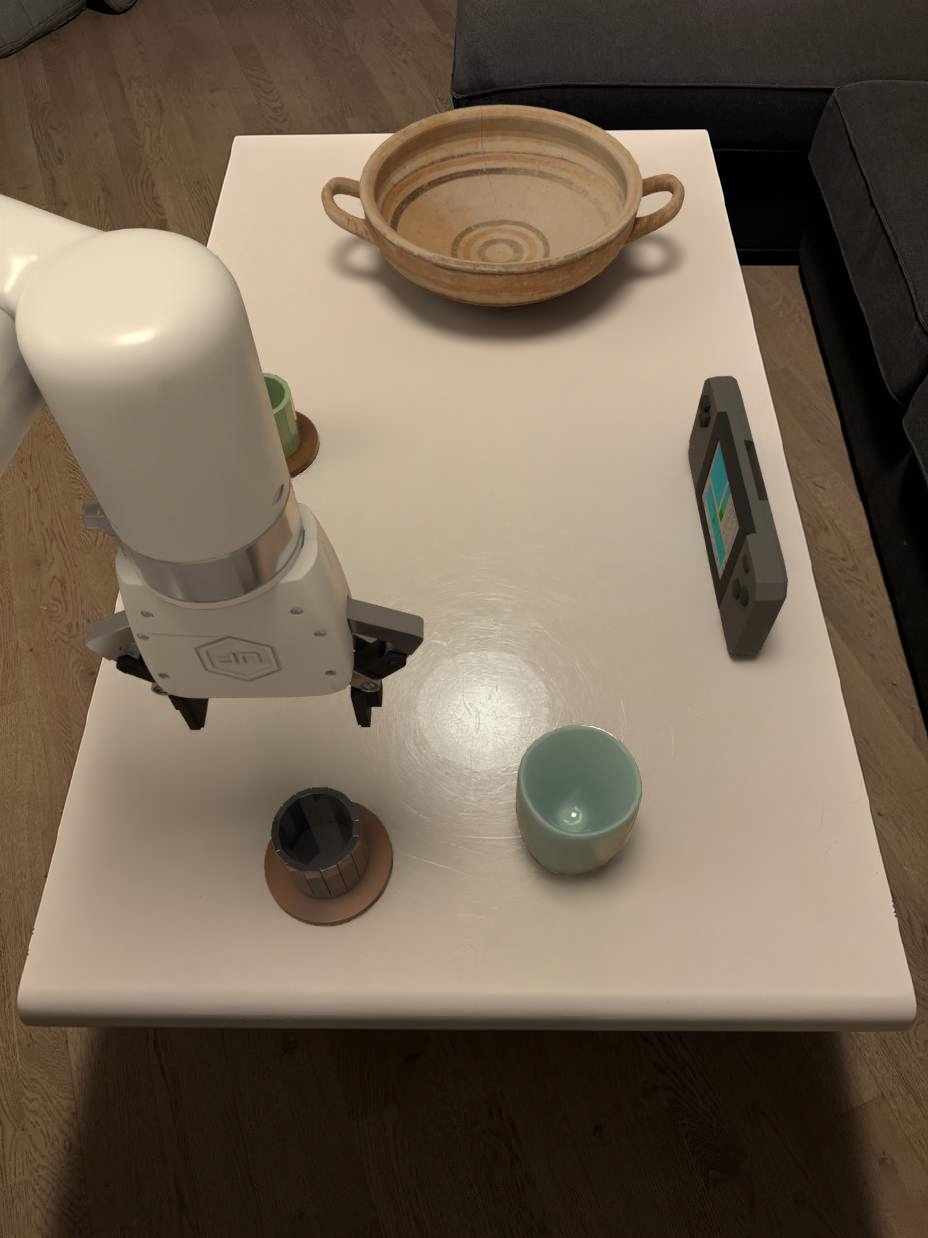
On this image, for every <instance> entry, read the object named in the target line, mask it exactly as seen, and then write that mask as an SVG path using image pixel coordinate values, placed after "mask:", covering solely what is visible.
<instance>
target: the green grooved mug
mask: <svg viewBox="0 0 928 1238" xmlns="http://www.w3.org/2000/svg"><path fill="white" fill-rule="evenodd" d="M263 376H264V380H265V383H266V387H267V391H268V395H269V399H270V402H271V406H272V410H273V414H274V417H275V421H276V425H277V429H278V433H279V437H280V441H281V445H282V448H283V452H284V456H285V459H287V458H289V457H290V456H291V455H293V454H294V453H295V452H296V450H297V449H298V447H299V445H300V441H301V436H300V429H299V425H298V421H297V416H296V412H295V411H296V408H295V404H294V400H293V395H292V391H291V387H290V386H289V384H288V382H287V381H286V380H285V379H284V378H282V377H281V376H279V375H277V374H273V373H269V372H263Z"/></svg>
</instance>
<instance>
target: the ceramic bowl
mask: <svg viewBox="0 0 928 1238" xmlns="http://www.w3.org/2000/svg"><path fill="white" fill-rule="evenodd" d="M662 192H663V193H664V192H668V193H670V194H671V198H670V200H669V201H668V202H667V203H666V204H665V205H664V206H662V207H661V208H659V209H657V210H656V211H654V212H652V213H650V214H647V215H642V216H638V211H639V208H640V205H641V202H642V198H644V197H647V196H650V195H653V194H657V193H662ZM320 195H321V196H320V198H321V203H322V207H323V210H324V212H325V214H326V216H327V217H328V218H329V220H330V221H332V222H333V224H335V225H336V226H338V227H339V228H340V229H342V230H344V231H346V232H348V233H349V234H351V235H353V236H356V237H358V238H360V239H362V240H365V241H367V242H368V243H371V244H372V245H374V246H376V247H377V248H378V250H379V251H380V253H381V255H382V257H383V258H384V259H385V260H386V261H387V262H388V263H389V264H390V265H391V266H392V267H393V268H394V269H395V270H396V271H397V272H398V273H399V274H400V275H402V277H404V278H405V279H406V280H408V281H410V282H411V283H413V284H415V286H418V287H419V288H421V289H422V290H424V291H428V292H429V293H431V294H434V295H436V296H438V297H441V298H445V299H449V300H452V301H455V302H457V303H458V302H459V303H464V304H470V305H473V306H474V305H475V306H483V307H511V306H512V307H517V306H525V305H530V304H536V303H541V302H545V301H548V300H550V299H554V298H556V297H560V296H563V295H565V294H568V293H570V292H572V291H574V290H576V289H578V288H580V287H582V286H584V284H586V283H588V282H589V281H591V280H592V279H594V278H595V277H597V276H598V275H599V274H601V273H602V272H603V271H604V270H605V269H606V267H608V266H609V264H611V263H612V262H613V261H614V260H615V259H616V258H617V256H619V253H620V252H621V250H622V249H623V247H626V246H627V245H629V244H631V243H632V242H635V241H637V240H638V239H640V238H643V237H644V236H645V237H646V236H647V235H649V234H651V233H654V232H655V231H657V230H659V229H660V228H662V227H664V226H666V225H667V224H669V223H671V222H672V220H674V219H675V218H676V217H677V215H678V214H679V213H680V210H681V209H682V208H683V204H684V201H685V196H686V195H685V185H684V184H683V183H682V181H681V180H679V178H678V177H677V176H675V174H671V173H661V174H657V175H653V176H652V175H651V176H648V177H646V178H643V176H642V174H641V170H640V167H639V164H638V163H637V162H636V160H635V158H634V156H633V155H632V154H631V152H630V151H629V150H628V149H627V148H626V147H625V146H624V145H623V144H622V143H621V142H620V141H619V140H618V139H617V138H616V137H614V136H613V135H612V134H610V133H609V132H607V131H606V130H604V129H603V128H602V127H599V126H597V125H595V124H593V123H591V122H589V121H588V120H585V119H582V118H580V117H577V116H574V115H571V114H568V113H566V112H563V111H558V110H554V109H549V108H545V107H538V106H531V105H524V104H485V105H483V104H482V105H474V106H472V105H471V106H467V107H459V108H454V109H450V110H447V111H443V112H439V113H436V114H433V115H430V116H427V117H424V118H422V119H418V120H416V121H414V122H412V123H410V124H408V125H407V126H404V127H403V128H401V129H399V130H397V131H396V132H395V133H393V134H392V135H391V136H390V137H388V138H386V139H385V140H384V141H383V142H382V143H381V144H380V145H379V146H378V147H377V148H376V149H375V150H374V151H373V152H372V153H371V154H370V156H369V157H368V159H367V161H366V163H365V164H364V167H363V168H362V171H361V175H360V178H359V180H356V179H353V178H351V177H350V178H349V177H345V176H335V177H332V178H330V179H329V180H328V181H327V182H326V184H325V185H324V186H323V187H322V190H321V193H320ZM337 195H344V196H350V197H354V198H356V199H358V200H359V201H360V204H361V206H362V209H363V215H364V218H360V217H359V216H358V217H357V216H354V215H352V214H351V213H348V212H347V211H345V210H344V209H342V208H341V207H340V206H339V205H338V204H337V202H336V201H335V198H334V197H335V196H337Z"/></svg>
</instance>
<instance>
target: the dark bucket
mask: <svg viewBox="0 0 928 1238" xmlns="http://www.w3.org/2000/svg"><path fill="white" fill-rule="evenodd" d="M352 801H353V800H352V799H350V797H349V796H347V794H345V793H344V792H342V791H339V790H336V789H334V788H332V787H328V786H312V787H308V788H305V789H303V790H300V791H297V792H295V793H293V794H291V796H289V797H288V798H287V799H286V800H285V801H283V802H282V803H281V805H280V806H279V808H278V809H277V811H276V813H275V815H274V817H273V819H272V821H271V828H270V829H271V830H270V839H271V841H272V844H273V847H274V851H275V853H276V855H277V857H278V859H279V860H280V862H281V864H282V866H283V868H284V869H285V871H286V873H287V875H288V877H289V878H290V880H291V881H292V882H293V884H294V885H295V886H296V887H297V888H298V889H299V890H300V891H301V892H302V893H304V894H306V895H308V896H310V897H313V898H317V899H332V898H336V897H339V896H342V895H344V894H346V893H348V892H349V891H351V890H352V889H353V888H354V887H356V885H357V884H358V883H359V882H360V881H361V879H362V878H363V876H364V875H365V872H366V870H367V867H368V863H369V847H368V843H367V839H366V836H365V833H364V829H363V826H362V823H361V819H360V817H359V814H358V811H357V808H356V806H355V804H354V803H353V802H354V801H353V802H352Z"/></svg>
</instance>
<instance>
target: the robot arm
mask: <svg viewBox="0 0 928 1238" xmlns="http://www.w3.org/2000/svg"><path fill="white" fill-rule="evenodd" d="M247 312H248V311H247V308H246V305H245V303H244V299H243V296H242V293H241V290H240V288H239V285H238V283H237V281H236V279H235V277H234V276H233V274H232V272H231V271H230V269H229V268H228V267H227V266H226V264H225V263H224V262H223V260H222V259H221V258H220V257H219V255H217V254H215V253H214V251H212V250H211V249H209V248H208V247H207V246H205V245H204V244H203V243H200V242H199V241H197V240H195V239H194V238H191V237H189V236H186V235H184V234H180V233H178V232H172V231H167V230H162V229H157V228H144V227H139V228H138V227H137V228H136V227H135V228H121V229H115V230H109V231H105V230H102V229H98V228H95V227H92V226H88V225H85V224H82V223H79V222H77V221H74V220H71V219H70V218H69V219H68V218H66V217H63V216H60V215H58V214H55V213H52V212H50V211H47V210H44V209H42V208H39V207H37V206H34V205H31V204H30V203H26V202H23V201H21V200H19V199H16V198H12V197H10V196H7V195H5V194H2V193H0V479H1V478H2V476H3V475H4V473H5V472H6V470H7V468H8V466H9V465H10V463H11V462H12V460H13V458H14V456H15V454H16V453H17V452H18V450H19V448H20V445H22V443H23V441H24V439H25V437H26V436H27V434H28V432H29V431H30V429H31V428H32V426H33V424H34V423H35V421H36V420H37V418H38V416H39V415H40V414H41V413H42V412H44V411H45V410H47V409H49V411H50V413H51V415H52V416H53V419H54V420H55V422H56V424H57V426H58V428H59V429H60V432H61V433H62V435H63V437H64V440H65V441H66V443H67V445H68V447H69V449H70V450H71V453H72V455H73V456H74V458H75V460H76V462H77V463H78V466H79V467H80V469H81V471H82V473H83V475H84V477H85V479H86V480H87V483H88V485H89V486H90V488H91V490H92V492H93V494H94V496H95V497H96V499H86V500H84V502H83V503H82V506H81V520H82V524H83V526H84V528H85V529H86V530H87V531H88V532H89V531H91V532H92V531H102V532H103V533H105V534H108V535H109V536H111V537H114V539H115V540H116V542H117V544H118V549H117V551H116V555H115V562H114V564H115V565H114V566H115V573H116V577H117V583H118V589H119V593H120V597H121V600H122V605H123V610H120V611H117V612H115V613H112V614H109V615H107V616H104V617H101V618H99V619H96V620H93V621H91V622H90V623H89V626H88V629H87V633H86V639H85V641H84V646H85V647H86V649H88V650H90V651H91V652H94V653H95V654H97V655H99V656H100V657H102V658H103V659H105V660H107V661H110V662H111V661H113V662H115V663H116V664H115V668H116V669H117V671H119V672H121V673H123V674H125V675H130V676H132V677H135V678H136V679H137V678H138V679H140V680H143V681H146V682H148V683H151V685H150V686H151V687H150V690H151V692H152V693H154V694H156V695H159V696H164V697H167V698H168V699H169V701H170V703H171V704H172V706H173V707H174V709H175V710H176V711H179V713H180V715H181V716H182V718H183V721H184V722H185V723H186V726H187V727H188V728H189V730H190V731H201V730H202V729H203V728H205V725H206V719H207V715H208V714H207V713H208V708H209V701H210V699H272V698H273V699H275V698H276V699H277V698H306V697H322V696H323V697H324V696H328V695H334V694H336V693H339V692H341V691H343V690H345V689H346V688H348V687H349V686H350V691H349V692H350V693H349V694H350V695H349V696H350V701H351V705H352V708H353V712H354V716H355V720H356V724H357V726H360V728H362V729H363V728H371V726H372V710H373V708H382V707H383V697H384V684H383V680H384V679H385V678H387V677H389V676H391V675H393V674H394V673H396V672H398V671H400V670H402V669H403V668H405V667H406V666H407V663H408V662H407V660H408V658H410V656H413V655H414V653H415V652H416V651H417V650H418V649H419V647H420V646H421V645H422V644H423V643H424V639H425V638H424V637H425V620H424V618H423V617H422V616H420V615H417V614H413V613H409V612H405V611H401V610H397V609H395V608H394V609H393V608H390V607H386V606H382V605H378V604H375V603H370V602H366V601H363V600H359V599H354V598H353V596H352V593H351V589H350V586H349V583H348V581H347V578H346V575H345V572H344V569H343V567H342V564H341V562H340V560H339V557H338V555H337V553H336V550H335V548H334V547H333V544H332V543H331V541H330V539H329V536H328V535H327V533H326V532H325V531H326V530H325V529H324V528H323V526H322V525H321V523H320V521H319V520H318V518H317V517H316V516H315V514H314V513H313V511H312V510H311V508H310V507H309V506H308V505H307V504H304V503H301V502H298V501H297V497H296V493H295V489H294V486H293V485H294V484H293V482H292V478H290V474H289V471H288V468H287V464H286V460H285V456H284V452H283V448H282V445H281V441H280V437H279V433H278V429H277V425H276V421H275V417H274V414H273V410H272V406H271V402H270V399H269V395H268V391H267V387H266V383H265V380H264V376H263V373H264V372H263V368H262V365H261V361H260V357H259V355H258V350H257V345H256V342H255V338H254V334H253V331H252V328H251V324H250V319H249V316H248V313H247Z"/></svg>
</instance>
